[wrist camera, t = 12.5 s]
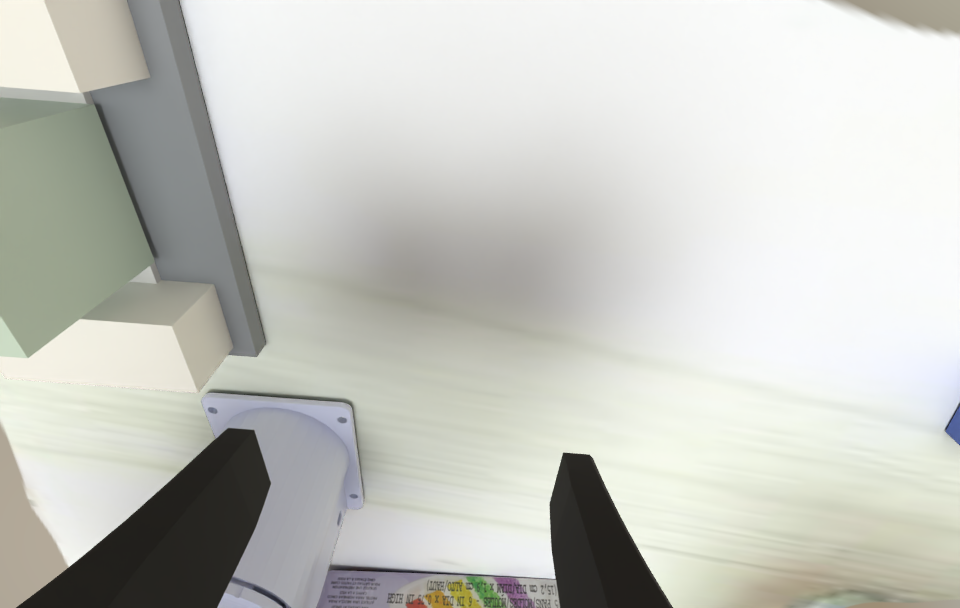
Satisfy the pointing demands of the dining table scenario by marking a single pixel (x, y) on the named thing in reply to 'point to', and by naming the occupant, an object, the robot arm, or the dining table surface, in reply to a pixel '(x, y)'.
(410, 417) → the dining table surface
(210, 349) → the mounted modules
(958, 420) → the walkman
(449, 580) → the cake pan box
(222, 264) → the mounting board
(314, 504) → the robot arm
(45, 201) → the module block
